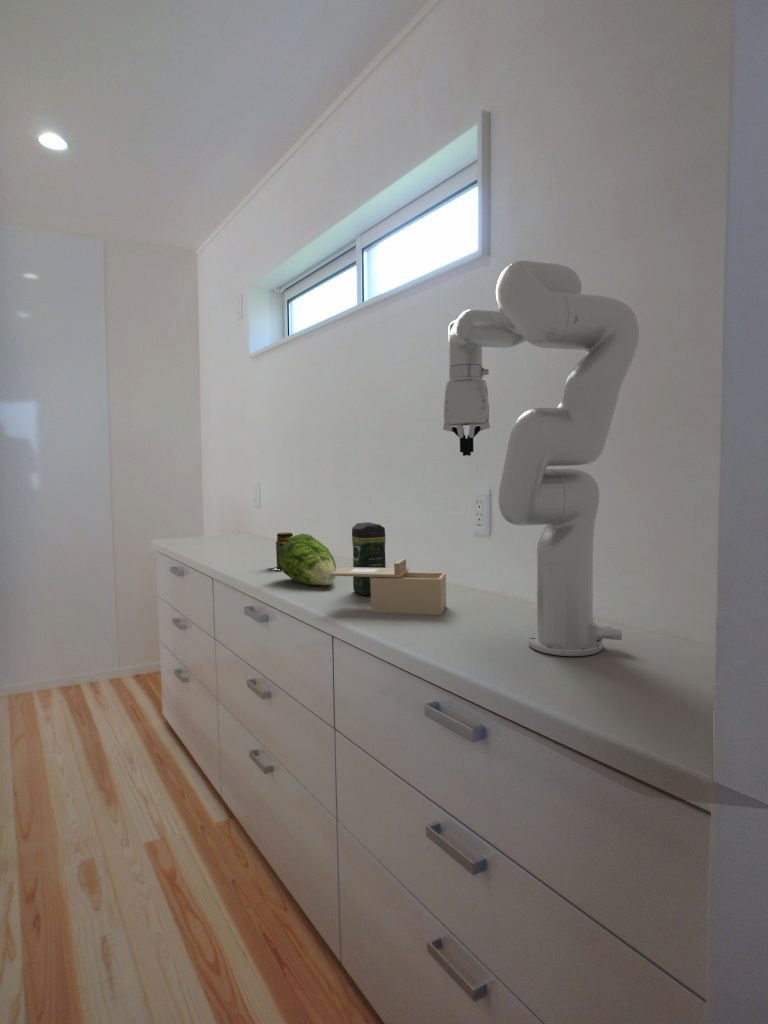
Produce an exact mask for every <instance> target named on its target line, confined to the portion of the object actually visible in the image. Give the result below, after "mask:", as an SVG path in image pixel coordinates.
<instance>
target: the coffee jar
mask: <svg viewBox="0 0 768 1024" xmlns="http://www.w3.org/2000/svg"><path fill="white" fill-rule="evenodd" d="M351 540H352V541H351V542H352V555H353V556H352V558H353V559H352V567H368V568H387V567H386V566H387V565H386V529H385V526H382V525H381V524H380V523H378V524H377V523H374V522H358V523H356V524H355V525H353V526H352V529H351ZM352 578H353V579H352V585H353V591H354V592H355V593H357V594H358V595H362V596H366V595H368V596H369V595H370V596H371V585H370V578H371V577H358V576H352Z"/></svg>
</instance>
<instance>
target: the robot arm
mask: <svg viewBox="0 0 768 1024" xmlns="http://www.w3.org/2000/svg"><path fill="white" fill-rule="evenodd" d="M495 296H496V301H497V304H498V310H496V311H495V310H485V309H483V310H481V309H466V310H464V311H463V312H462V313H461V314H460V315H459V316H458V318H457V319H455V320H453V321H451V322H450V323H449V325H448V371H449V372H448V376H449V378H448V379H449V381H446V385H445V391H444V402H443V420H444V422H443V425H442V426H443V428H442V430H443V431H446V432H452V433H453V434H455V435H456V436H457V437H458V438H459V452H460V453H462V456H463V457H466V456H468V457H470V456H472V453H474V449H475V447H474V439H475V437H476V436H477V435H478V434H479V433H480V432H481V431H484V430H488V429H490V428H491V423H490V406H489V405H490V404H489V392H488V386H487V382H486V380H485V379H484V377H485V376H489V374H490V373H489V372H490V371H489V368H484V367H483V348H484V347H485V348H498V349H499V348H501V349H506V348H512V347H515V346H518V345H521V344H523V343H525V342H528V343H529V344H531V345H533V346H535V347H537V348H543V349H559V350H560V349H561V350H581V351H582V350H584V351H586V355H584V357H582V358H581V359H580V360H579V361H578V362H577V363H576V364H575V366H574V367H573V368H572V370H571V371H570V373H569V374H568V377H567V379H566V381H565V383H564V389H563V394H562V397H561V400H560V402H559V404H558V406H556V407H536V408H531V409H528V410H526V411H524V412H523V413H522V414H521V415H519V416H518V418H517V419H516V421H515V422H514V425H513V426H512V429H511V432H510V436H509V441H508V444H507V450H506V453H505V454H506V455H505V460H504V464H503V469H502V474H501V479H500V483H499V489H498V506H499V511H500V514H501V516H502V517H503V519H504V520H505V521H506V522H507V523H509V524H511V525H513V526H514V525H515V526H523V527H524V526H541V525H545V527H544V528H543V531H542V532H541V535H540V537H539V539H538V543H537V545H536V546H537V547H536V632H534V633H532V634H530V635H529V637H528V638H527V640H528V646H530V648H532V649H533V650H535V651H537V652H540V653H543V654H547V655H552V656H561V657H584V656H586V657H587V656H591V655H594V654H597V653H600V652H601V650H603V640H610V641H622V638H623V637H622V635H623V633H622V629H621V628H613V627H612V626H610V625H609V626H605V625H604V626H600V625H599V626H598V624H596V622H595V620H594V609H593V608H594V607H593V606H594V605H593V603H594V597H593V596H594V591H593V590H594V588H593V587H594V585H593V581H594V578H593V577H594V576H593V575H594V571H593V570H594V536H595V534H594V533H595V524H596V519H597V514H598V510H599V504H600V488H599V485H598V483H597V481H596V479H595V478H594V477H593V476H592V475H591V474H589V473H588V472H586V471H584V470H581V469H577V468H548V467H559V466H560V467H565V466H567V467H568V466H583V465H589V464H591V463H594V462H596V461H598V459H599V458H600V456H601V455H602V454H603V451H604V450H605V449H604V448H605V446H606V442H607V439H608V435H609V432H610V428H611V425H612V422H613V418H614V415H615V411H616V407H617V403H618V399H619V395H620V392H621V388H622V386H623V383H624V381H625V378H626V376H627V373H628V372H629V369H630V367H631V364H632V362H633V361H634V359H635V358H634V357H635V355H636V353H637V348H638V345H639V339H640V337H639V336H640V329H639V327H640V326H639V322H638V318H637V316H636V314H635V311H633V309H632V308H631V307H630V306H629V305H628V304H627V303H625V302H623V301H621V300H619V299H616V298H612V297H609V296H603V295H595V294H585V293H584V294H583V293H582V280H581V279H580V277H579V275H578V273H577V272H576V271H575V270H573V269H572V268H570V267H569V266H567V265H563V264H557V263H549V262H539V261H530V260H517V261H515V262H511V263H510V264H509V265H508V266H506V268H504V269H503V271H501V273H500V275H499V277H498V280H497V283H496V289H495ZM464 426H469V430H468V434H467V436H466V435H465V429H464Z"/></svg>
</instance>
